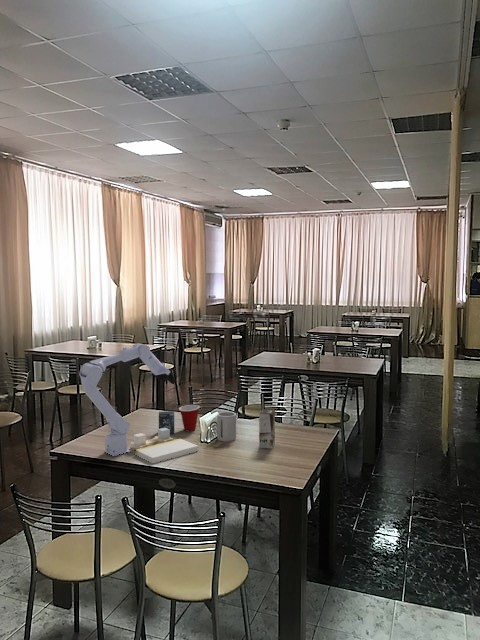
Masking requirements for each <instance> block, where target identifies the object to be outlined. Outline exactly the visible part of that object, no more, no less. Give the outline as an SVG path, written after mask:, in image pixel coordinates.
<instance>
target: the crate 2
mask: <svg viewBox="0 0 480 640" xmlns="http://www.w3.org/2000/svg"><path fill="white" fill-rule="evenodd" d="M157 436H158V438H160V439H167V438H170V437H171V434H170V429H167V428H161V429H159V428H158V429H157Z"/></svg>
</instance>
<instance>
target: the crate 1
mask: <svg viewBox="0 0 480 640" xmlns="http://www.w3.org/2000/svg"><path fill="white" fill-rule="evenodd" d="M146 440H147V435H146V434H145V433H142V432H140V433H136V434H133V442H134V444H136V445H142V444H146Z"/></svg>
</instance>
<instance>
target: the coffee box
mask: <svg viewBox="0 0 480 640" xmlns="http://www.w3.org/2000/svg"><path fill="white" fill-rule="evenodd" d="M258 415H259V417H258V418H259V420H258V421H259V425H258V429H259V430H258V432H259V435H258V447H259V449H273V447H274V445H275V443H276V442H275V441H276V431H275V430H276V427H275V426H276V423H275V422H276V419H275V418H276V416H275V415H276V410H275V409H269V408H268V409H264V408H263V409H261V411H260V412H259V414H258Z"/></svg>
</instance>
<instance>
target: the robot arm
mask: <svg viewBox="0 0 480 640" xmlns="http://www.w3.org/2000/svg"><path fill="white" fill-rule="evenodd" d="M138 358H139V359H140V360H141V362H143V363H144V365H145V366H146V367H147V368H148V370H149V371H150V372H151V376H152V377H155V378H157V379H158V380H160V381H161V382H163V383H165V382H166V381H167V382H169V383H170V384H171V385H175V383H176V382H177V381H176V378H175V376H174V373H173V369H172V368H167V367H166V366H165V365H166V363H165V362H161V361H160V360H159V359H158V358H157V357H156V355H154V353H153V352H151V350H150V346H149V345H147V344H143V343H134V344H133V345H132V346H130V347H127V346H124V347H122V349H120V350H119V352H118V353H116V354H112V355H108V356H104V357H101V358H97V359H93V360H90V361H89V362H86V363H84V364H82V365H81V367H80V370H79V373H78V375H79V378H80V380H81V381H80V383H81V388H82V391H83V392H84V393H85V395H86V396H87V397H88V398H89V400H90V401H91V402H92V403H93V404H94V405H95V407H96V408H97V409H98V411H100V412H101V414H102V415H103V416H104V418H105V421H106V422H107V425H108V428H109V429H110V433H109V434H107V435H106V436H105V438H104V453H105V452H106V454H107V453H108V454H107V455H109V454H110V456H111V455H112V456H111V457H115V456H120V455H124V454H127V453H126V452H128V453H131V452H132V449H129V448H128V432H129V430H130V427H131V424H130V421H128V420H127V419H125V418H123V416H121V415H120V414H119V413H118V412H117V411H116V410H115V409H114V407H113V406H112V405H111V404H110V402H109V401H108V400H107V399H106V398H105V396H104V395H103V394H102V393H101V392H100V390H99V389H98V388H97V385H98V384H99V382H100V380H101V378H102V377H103V372H105V371H106V369H107V367H108V366H110V365H114V364H115V363H118V362H121V361H122V362H123V363H126V362H129V361H132V360H134V359H138ZM130 451H131V452H130ZM123 453H124V454H123ZM119 454H120V455H119Z"/></svg>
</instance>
